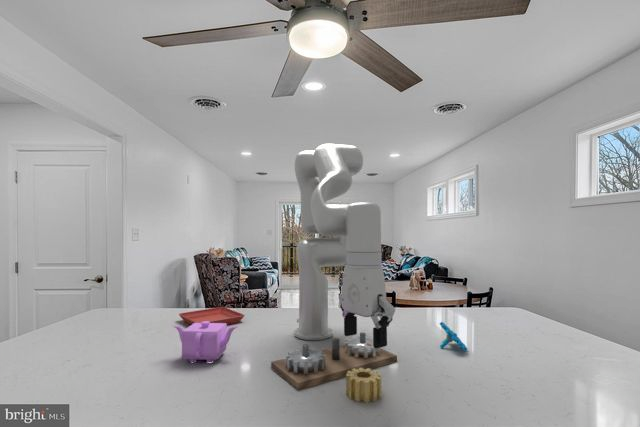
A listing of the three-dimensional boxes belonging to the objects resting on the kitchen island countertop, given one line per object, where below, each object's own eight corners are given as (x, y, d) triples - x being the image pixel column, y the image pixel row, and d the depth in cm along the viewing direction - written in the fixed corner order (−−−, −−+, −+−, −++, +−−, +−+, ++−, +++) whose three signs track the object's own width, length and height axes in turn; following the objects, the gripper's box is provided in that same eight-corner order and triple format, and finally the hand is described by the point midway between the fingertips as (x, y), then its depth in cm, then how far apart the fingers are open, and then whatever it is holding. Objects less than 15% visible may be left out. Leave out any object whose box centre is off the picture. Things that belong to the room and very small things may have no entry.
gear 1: (279, 363, 87) (279, 343, 88) (312, 355, 93) (312, 336, 93) (298, 377, 79) (298, 355, 79) (333, 368, 84) (333, 347, 85)
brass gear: (339, 391, 76) (339, 372, 76) (365, 382, 80) (365, 365, 80) (361, 406, 70) (361, 385, 70) (388, 396, 74) (388, 377, 74)
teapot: (244, 349, 102) (245, 315, 102) (231, 367, 89) (231, 328, 89) (183, 348, 102) (184, 314, 103) (161, 366, 89) (162, 327, 90)
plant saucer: (222, 314, 143) (222, 305, 143) (245, 323, 130) (245, 314, 130) (177, 322, 131) (177, 313, 131) (198, 333, 117) (198, 323, 117)
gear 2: (338, 349, 97) (338, 331, 97) (364, 343, 102) (364, 326, 102) (360, 360, 89) (360, 341, 89) (388, 353, 94) (388, 335, 94)
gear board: (298, 389, 77) (298, 359, 77) (271, 367, 89) (271, 341, 89) (397, 361, 93) (397, 336, 93) (363, 345, 105) (363, 323, 105)
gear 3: (470, 351, 96) (442, 322, 99) (454, 365, 96) (427, 336, 100) (467, 344, 106) (442, 317, 110) (453, 356, 107) (428, 330, 110)
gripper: (326, 258, 81) (327, 333, 80) (377, 263, 67) (379, 356, 66) (352, 257, 85) (353, 328, 84) (405, 261, 71) (407, 348, 70)
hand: (364, 340), depth 75 cm, fingers open, 9 cm apart
